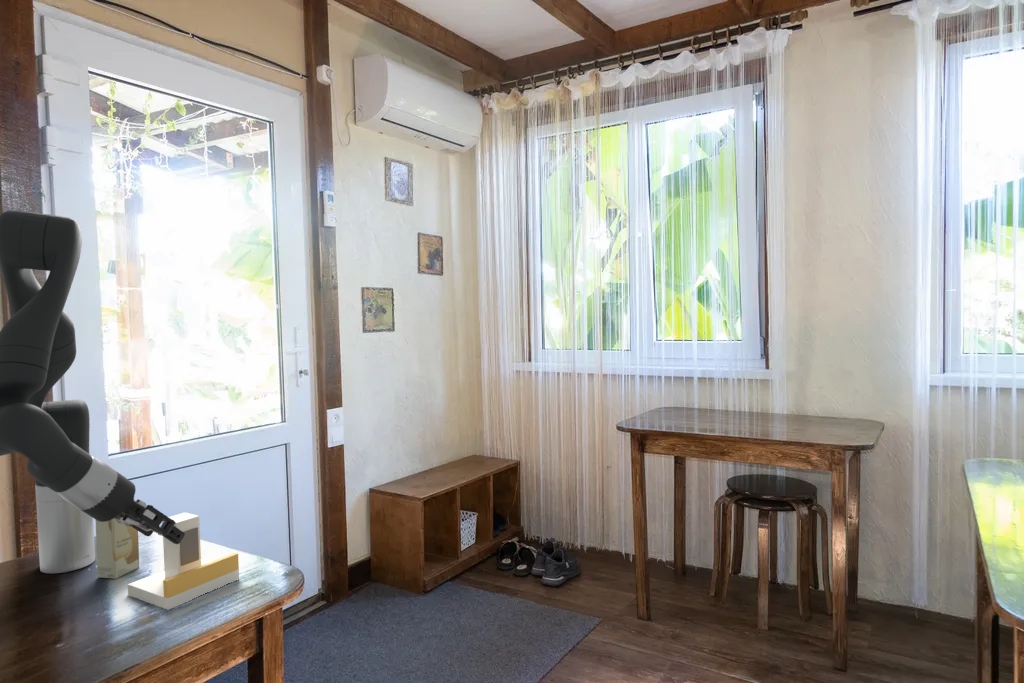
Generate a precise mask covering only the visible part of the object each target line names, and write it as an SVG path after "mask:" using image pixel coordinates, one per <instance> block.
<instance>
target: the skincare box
mask: <svg viewBox="0 0 1024 683" xmlns="http://www.w3.org/2000/svg"><path fill="white" fill-rule="evenodd" d="M132 526H133V525H132ZM95 544H96V545H95V547H96V548H95V549H96V550H95V551H96V574H97V578H102V579H119V578H120V577H122V576H124V575H126V574H128V573H130V572H132V571H134V570H136V569H138V568H140V552H139V550H140V549H139V548H140V547H139V546H140V545H139V531H137V530H136V529H134V528H133V527H128V526H126V525H124V524H121V523H118V521H116V520H115V519H112V520H110V521H106V522H100V521H97V520H96V519H95Z"/></svg>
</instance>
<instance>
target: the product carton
mask: <svg viewBox="0 0 1024 683" xmlns="http://www.w3.org/2000/svg"><path fill="white" fill-rule="evenodd" d="M168 517H169V518H170V519H172V520H174V521H175V522H176V523H175V524H174V526H175V527H177V528H178V529H179V530H181V531H182V532H184V533H185V535H184V537H183V539H182V540H181V541H180V543H179V544H174V543H172V542H171V541H169V540H168V539H166V538H165V537H163V536H162V542H163V544H162V545H163V561H164V562H163V566H164V568H163V569H164V571H165V578H166V579H167V578H170V577H173V576H175V575H178V574H180V573H183V572H186V571H188V570H191V569H193V568H196V567H199V566H201V558H202V549H201V528H200V524H201V523H200V516H199V515H197V514H193V513H190V512H186V511H185V512H181V513H178V514H175V515H174V514H173V515H172V516H168ZM163 523H164V522H161V525H162V524H163Z"/></svg>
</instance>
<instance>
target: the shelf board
mask: <svg viewBox="0 0 1024 683" xmlns="http://www.w3.org/2000/svg"><path fill="white" fill-rule="evenodd" d="M239 566H240V565H239V553H238V552H233V553H230V554H228V555H225V556H223V557H220V558H217V559H215V560H208V559H204V558H202V557H201V566H199V567H196V568H193V569H191V570H188V571H186V572H183V573H180V574H178V575H175V576H173V577H170V578H167V579H166V578H165V570H162V571H159V572H157V573H155V574H152V575H151V574H150V575H149V576H146V577H143V578H141V579H138V580H136V581H133V582H130V583H127V595H128V596H130V597H132V598H135V599H137V598H138V600H140V601H142V602H145V603H149V604H151V605H153V604H154V605H153V606H156V607H159V608H161V607H162V609H164V610H167V611H170V610H171V609H174V608H176V607H178V606H180V605H182V604H185V602H186V603H187V602H190V601H192V599H193V598H195V599H197V598H199V597H198V596H200V595H202V596H204V595H206V594H205V593H207V592H209V593H211V592H213V591H212V590H214V589H216V590H218V589H220V587H221V588H223V587H225V586H227V585H226V584H228V583H230V584H232V583H234V582H233V581H235V580H237V579H239V580H240V567H239ZM237 581H238V580H237ZM231 582H232V583H231ZM235 582H236V581H235ZM224 585H225V586H224ZM228 585H229V584H228ZM222 586H223V587H222ZM217 588H218V589H217ZM210 591H211V592H210ZM214 591H215V590H214ZM203 594H204V595H203ZM207 594H208V593H207ZM196 597H197V598H196ZM200 597H201V596H200ZM189 600H190V601H189ZM193 600H194V599H193Z"/></svg>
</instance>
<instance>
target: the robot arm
mask: <svg viewBox="0 0 1024 683" xmlns="http://www.w3.org/2000/svg"><path fill="white" fill-rule="evenodd" d="M82 240H83V239H82V231H81V227H80V225H79V222H78V221H76V220H75V219H74V218H73V217H72V218H71V217H67V216H60V215H54V214H47V213H42V212H41V213H39V212H33V211H31V212H30V211H23V210H22V211H21V210H7V211H4V212H2V213H1V214H0V269H1V273H2V278H3V283H4V286H5V290H6V291H5V292H6V295H7V300H8V306H9V307H8V308H9V314H10V315H9V317H10V318H9V319H8V320H6V321H7V322H5V323H4V325H3V326H2V328H1V329H0V457H1V456H6V455H10V454H14V453H19V454H21V455H22V456H24V457H26V458H27V459H28V461H27V465H26V469H27V472H28V474H29V475H30V476H31V478H34V485H35V487H34V488H35V501H36V503H35V504H36V519H37V520H36V522H37V535H38V536H37V537H38V538H37V539H38V540H37V541H38V555H39V556H38V557H39V570H40V572H41V573H44V574H60V573H61V574H62V573H69V572H72V571H76V570H80V569H82V568H85V567H87V566H90V565H91V564H93V563H94V562H95V561H96V550H95V549H96V548H95V547H96V545H95V530H94V528H95V527H94V520H95V521H96V520H97V521H100V522H106V521H110V520H112V519H115V520H116V521H118V523H121V524H124V525H126V526H128V527H133V528H134V529H136V530H137V531H138V533H141V534H142V535H144V536H146V537H150V536H152V535H153V533H156V534H157V535H158V536H162V538H163V537H165V538H166V539H168V540H169V541H171V542H172V543H174V544H179V543H180V541H181V540H182V539H183V537H184V535H185V533H184V532H182V531H181V530H179V529H178V528H177V527H175V526H174V524H175V523H176V522H175V521H174V520H172V519H170V518H169V517H170V516H167V515H166V514H164V512H163V513H162V512H161V511H159V510H158V509H157V508H156V507H155V506H153V505H152V504H147V503H146V502H144V501H143V500H140V499H137V500H135V494H136V485H135V483H134V482H132V480H129V479H128V478H126V477H125V476H124V475H122V474H121V473H119V472H118V471H117V470H116V469H115V468H113V467H111V466H110V465H108V464H107V463H105V462H104V461H102V460H100V459H99V458H96V457H94V456H93V455H91V454H90V428H91V426H90V410H89V407H88V404H87V403H86V401H85V400H83V399H68V400H54V401H45V400H46V399H45V398H46V397H47V395H48V393H49V392H50V390H51V389H52V388H53V387H54V385H56V384H57V383H58V381H59V380H61V378H62V377H63V376H64V375H65V374H66V373H67V372H68V371H69V369H70V368H71V367H72V365H73V364H74V361H75V359H76V356H77V345H76V344H77V343H76V341H77V340H76V329H75V326H74V323H73V320H72V319H71V318H70V316H69V314H68V313H67V312H66V311H65V310H64V308H65V305H66V302H67V300H68V297H69V293H70V291H71V288H72V284H73V282H74V278H75V276H76V272H77V270H78V266H79V262H80V258H81V253H82V246H83V245H82V243H83V241H82ZM34 270H35V271H36V270H37V271H47V272H49V274H48V276H47V278H46V280H45V282H44V284H43V285H40V283H39V281H38V279H36V276H35V274H34V272H33V271H34ZM162 522H164V523H163V524H162ZM132 525H133V526H132Z"/></svg>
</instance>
